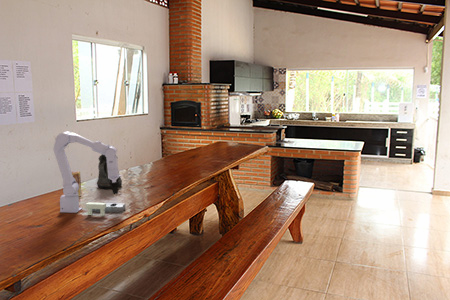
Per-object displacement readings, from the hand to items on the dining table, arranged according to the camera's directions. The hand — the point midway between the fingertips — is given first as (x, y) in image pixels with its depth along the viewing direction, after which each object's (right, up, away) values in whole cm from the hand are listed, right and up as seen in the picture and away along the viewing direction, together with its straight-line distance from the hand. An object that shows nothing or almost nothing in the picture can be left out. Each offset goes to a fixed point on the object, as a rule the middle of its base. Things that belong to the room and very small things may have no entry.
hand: (115, 192), depth 224 cm
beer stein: (-18, -2, +50) cm, 53 cm away
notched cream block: (-8, -12, -7) cm, 16 cm away
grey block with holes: (-5, -10, +1) cm, 11 cm away
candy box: (-34, -6, +28) cm, 44 cm away
